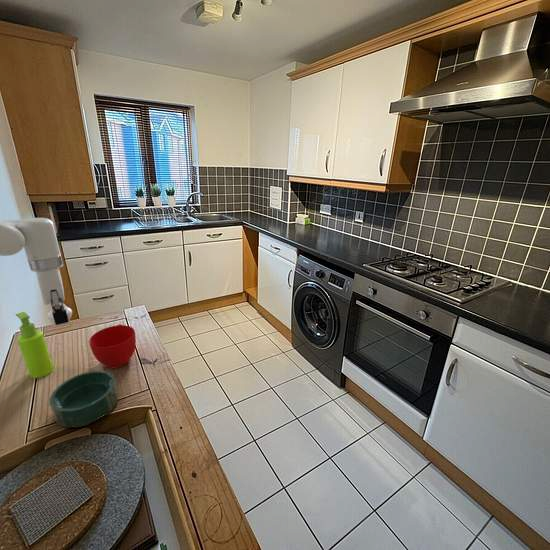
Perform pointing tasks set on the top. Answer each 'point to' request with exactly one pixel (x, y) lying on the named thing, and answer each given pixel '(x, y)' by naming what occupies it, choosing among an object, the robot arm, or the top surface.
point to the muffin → (68, 311)
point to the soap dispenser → (34, 348)
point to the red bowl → (113, 345)
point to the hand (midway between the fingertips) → (61, 318)
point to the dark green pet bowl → (84, 398)
